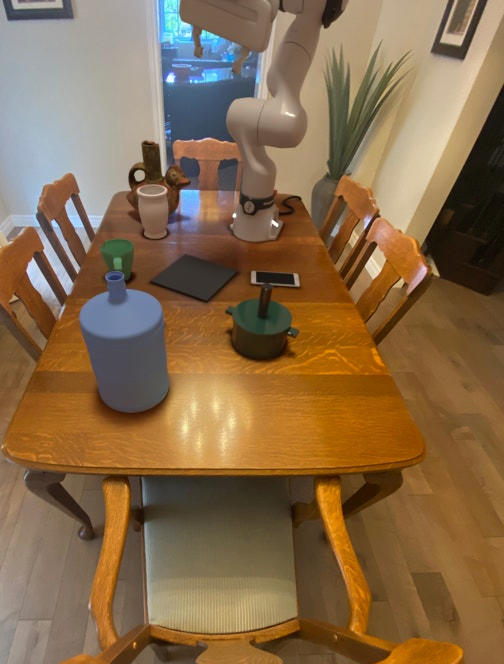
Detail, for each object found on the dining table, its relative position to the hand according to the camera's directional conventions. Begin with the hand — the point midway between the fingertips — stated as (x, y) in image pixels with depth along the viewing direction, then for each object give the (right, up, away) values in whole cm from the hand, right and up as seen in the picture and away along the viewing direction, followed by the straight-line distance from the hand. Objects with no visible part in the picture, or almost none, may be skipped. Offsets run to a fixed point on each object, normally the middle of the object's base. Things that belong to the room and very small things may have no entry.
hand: (216, 65), depth 82 cm
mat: (-6, -37, +33) cm, 50 cm away
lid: (+11, -55, +8) cm, 57 cm away
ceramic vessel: (-20, -3, +62) cm, 65 cm away
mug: (-28, -39, +31) cm, 57 cm away
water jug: (-19, -73, +1) cm, 75 cm away
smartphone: (+20, -38, +33) cm, 54 cm away
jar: (-21, -14, +53) cm, 58 cm away
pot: (+11, -60, +13) cm, 62 cm away
